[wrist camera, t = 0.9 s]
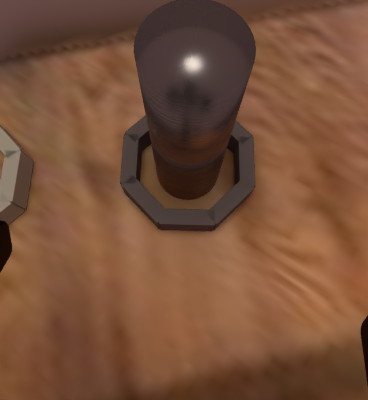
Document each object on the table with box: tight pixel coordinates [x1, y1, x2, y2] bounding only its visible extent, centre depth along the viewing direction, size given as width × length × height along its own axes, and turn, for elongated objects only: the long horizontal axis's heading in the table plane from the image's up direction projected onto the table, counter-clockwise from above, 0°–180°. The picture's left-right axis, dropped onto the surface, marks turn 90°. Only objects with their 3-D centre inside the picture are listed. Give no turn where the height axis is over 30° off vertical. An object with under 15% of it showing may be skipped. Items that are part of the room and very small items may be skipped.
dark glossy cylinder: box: [134, 0, 256, 200], centre depth 18 cm, size 4×4×12 cm
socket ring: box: [120, 115, 255, 231], centre depth 23 cm, size 9×9×2 cm
